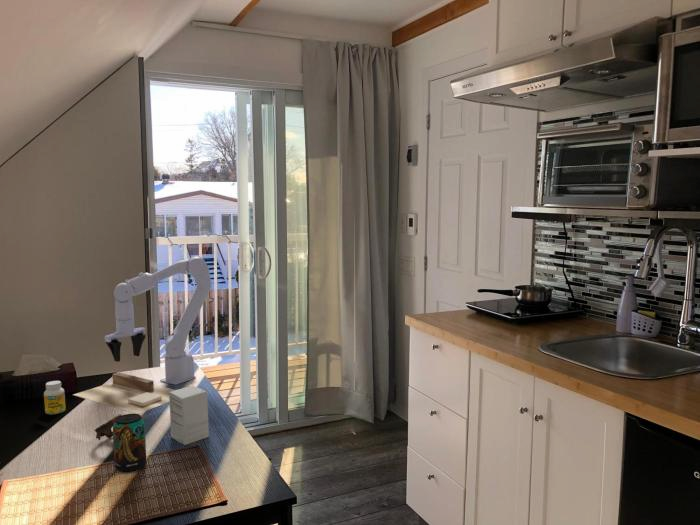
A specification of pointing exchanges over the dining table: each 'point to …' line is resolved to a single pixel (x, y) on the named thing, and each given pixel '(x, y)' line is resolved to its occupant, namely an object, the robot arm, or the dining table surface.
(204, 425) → the supplement box
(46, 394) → the supplement bottle
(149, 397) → the tile
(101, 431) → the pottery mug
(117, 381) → the brown wooden bar
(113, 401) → the board
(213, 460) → the dining table surface
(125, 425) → the beverage can
